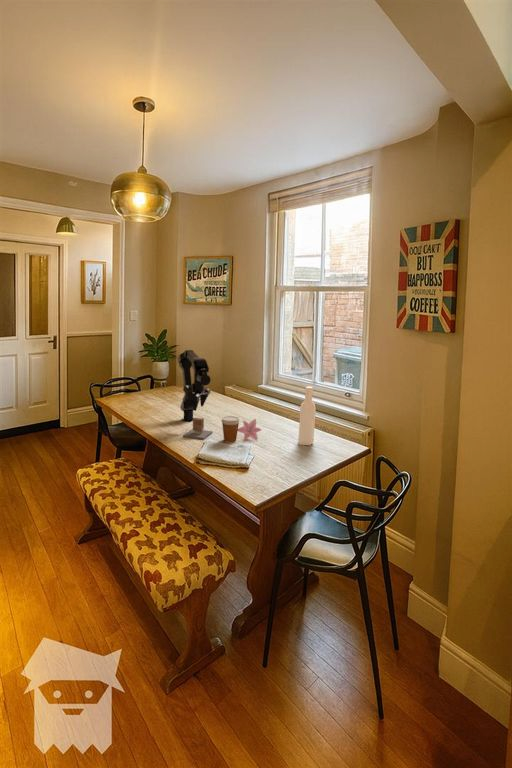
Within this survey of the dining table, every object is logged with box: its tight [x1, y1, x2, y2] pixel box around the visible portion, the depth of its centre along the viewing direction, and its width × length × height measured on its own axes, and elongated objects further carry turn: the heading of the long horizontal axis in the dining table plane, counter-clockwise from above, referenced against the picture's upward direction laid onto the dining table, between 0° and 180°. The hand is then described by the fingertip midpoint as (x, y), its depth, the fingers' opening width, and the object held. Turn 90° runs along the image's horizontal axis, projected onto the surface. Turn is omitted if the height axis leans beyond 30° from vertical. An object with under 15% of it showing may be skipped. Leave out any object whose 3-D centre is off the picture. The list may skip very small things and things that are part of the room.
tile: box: [169, 428, 188, 437], centre depth 229 cm, size 2×6×8 cm
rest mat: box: [182, 428, 214, 440], centre depth 227 cm, size 12×12×1 cm
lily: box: [237, 418, 262, 442], centre depth 225 cm, size 12×12×10 cm
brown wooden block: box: [192, 417, 205, 434], centre depth 226 cm, size 3×5×8 cm, turn 74°
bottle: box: [297, 386, 317, 446], centre depth 218 cm, size 8×8×30 cm
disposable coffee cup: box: [221, 415, 241, 443], centre depth 219 cm, size 10×10×12 cm
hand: (198, 408), depth 237 cm, fingers open, 9 cm apart
